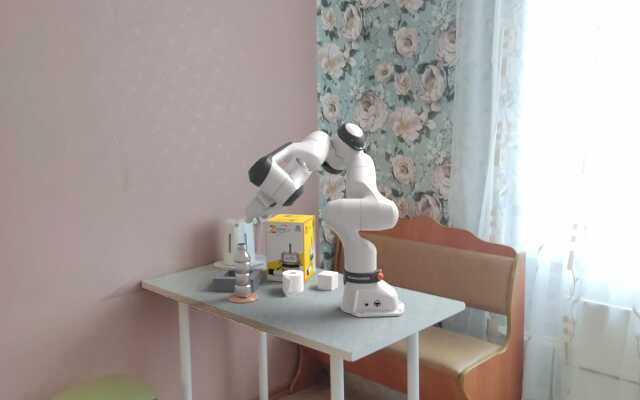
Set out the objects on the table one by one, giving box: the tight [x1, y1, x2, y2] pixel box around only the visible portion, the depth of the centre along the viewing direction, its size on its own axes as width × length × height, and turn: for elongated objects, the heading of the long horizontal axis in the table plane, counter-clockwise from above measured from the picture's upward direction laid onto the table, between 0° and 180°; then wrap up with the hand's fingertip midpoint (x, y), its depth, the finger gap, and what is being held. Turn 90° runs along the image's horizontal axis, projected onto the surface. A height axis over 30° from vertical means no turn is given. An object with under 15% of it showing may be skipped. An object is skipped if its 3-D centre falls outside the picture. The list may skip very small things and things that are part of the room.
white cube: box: [317, 270, 339, 292], centre depth 224 cm, size 6×6×6 cm
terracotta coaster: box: [228, 292, 259, 304], centre depth 212 cm, size 11×11×1 cm
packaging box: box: [265, 213, 317, 284], centre depth 238 cm, size 16×16×25 cm
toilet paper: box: [282, 270, 305, 297], centre depth 220 cm, size 8×11×7 cm
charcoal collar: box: [212, 267, 263, 293], centre depth 227 cm, size 16×15×5 cm
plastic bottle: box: [233, 242, 253, 297], centre depth 211 cm, size 6×7×20 cm
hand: (255, 219), depth 205 cm, fingers open, 8 cm apart
